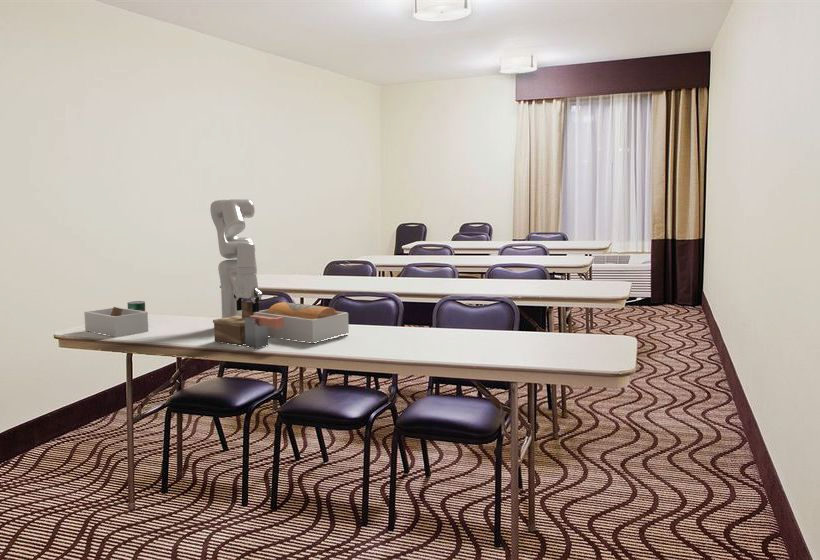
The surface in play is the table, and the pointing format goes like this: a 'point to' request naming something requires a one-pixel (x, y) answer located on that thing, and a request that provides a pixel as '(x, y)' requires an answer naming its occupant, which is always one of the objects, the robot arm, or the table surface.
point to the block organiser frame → (116, 322)
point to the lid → (238, 319)
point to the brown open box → (229, 334)
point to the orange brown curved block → (301, 310)
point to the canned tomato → (137, 305)
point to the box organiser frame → (309, 327)
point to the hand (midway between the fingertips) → (247, 311)
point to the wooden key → (270, 321)
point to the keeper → (255, 333)
